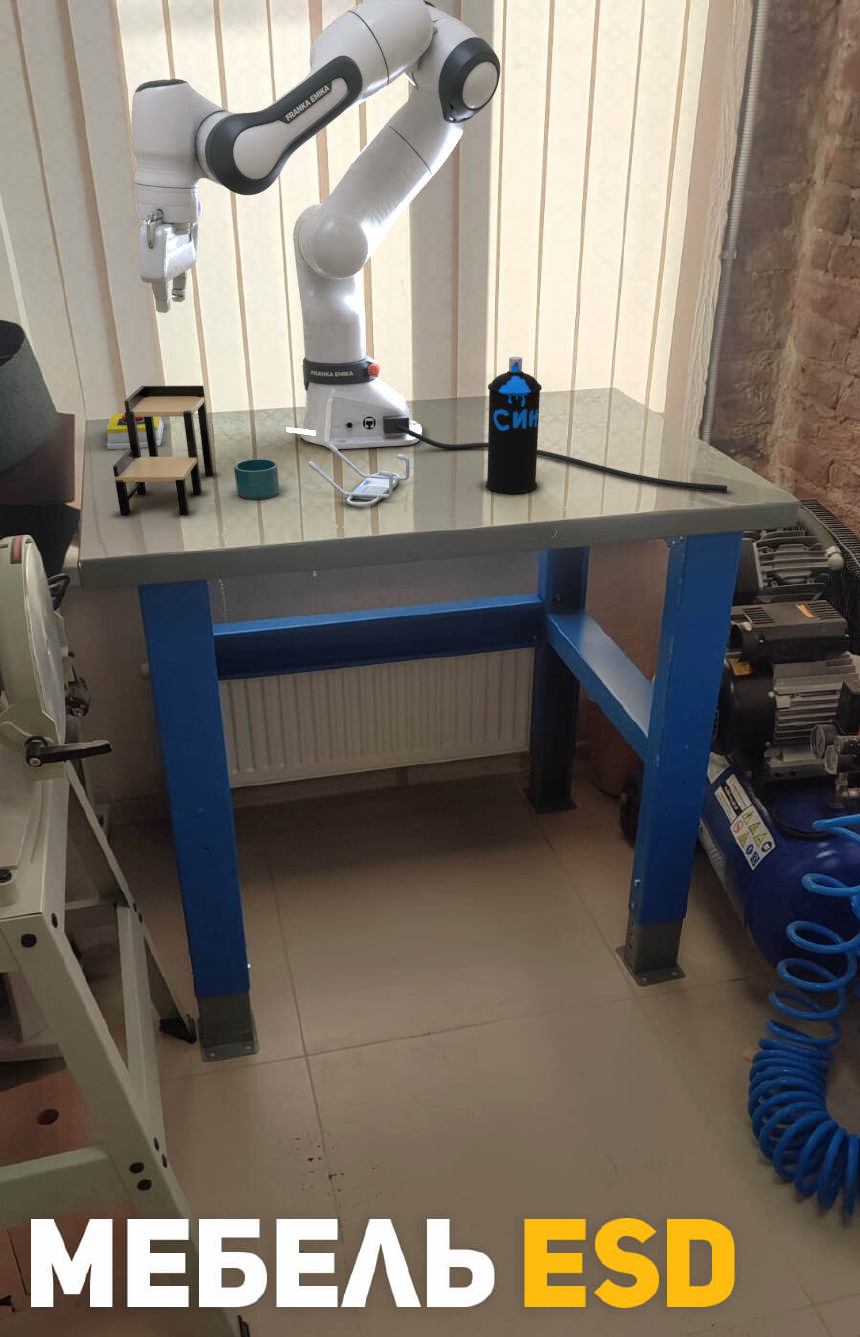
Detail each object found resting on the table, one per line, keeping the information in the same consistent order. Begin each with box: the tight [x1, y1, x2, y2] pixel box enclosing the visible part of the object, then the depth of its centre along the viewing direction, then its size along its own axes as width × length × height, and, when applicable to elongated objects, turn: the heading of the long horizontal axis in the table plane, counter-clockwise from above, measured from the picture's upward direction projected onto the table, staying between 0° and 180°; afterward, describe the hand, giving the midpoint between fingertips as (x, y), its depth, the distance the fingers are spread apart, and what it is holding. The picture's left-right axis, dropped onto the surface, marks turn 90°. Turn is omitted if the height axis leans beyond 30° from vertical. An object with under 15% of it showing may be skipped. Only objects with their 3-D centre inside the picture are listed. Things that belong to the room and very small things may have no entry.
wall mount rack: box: [307, 444, 410, 507], centre depth 157 cm, size 16×14×6 cm
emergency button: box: [106, 413, 164, 450], centre depth 186 cm, size 9×4×15 cm
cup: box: [233, 458, 281, 501], centre depth 156 cm, size 7×7×5 cm
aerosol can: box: [485, 356, 543, 495], centre depth 155 cm, size 8×8×20 cm
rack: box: [112, 385, 215, 517], centre depth 154 cm, size 10×20×15 cm, turn 0°
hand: (171, 306), depth 152 cm, fingers open, 8 cm apart
